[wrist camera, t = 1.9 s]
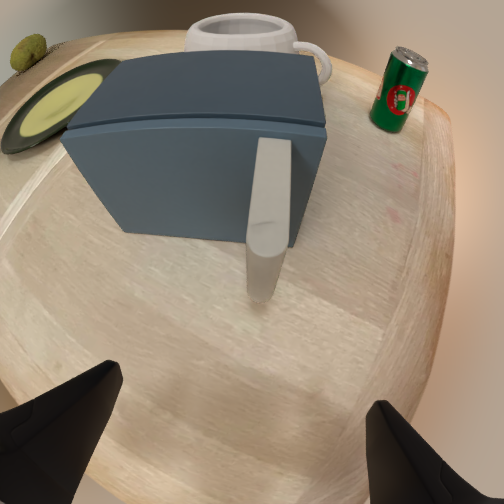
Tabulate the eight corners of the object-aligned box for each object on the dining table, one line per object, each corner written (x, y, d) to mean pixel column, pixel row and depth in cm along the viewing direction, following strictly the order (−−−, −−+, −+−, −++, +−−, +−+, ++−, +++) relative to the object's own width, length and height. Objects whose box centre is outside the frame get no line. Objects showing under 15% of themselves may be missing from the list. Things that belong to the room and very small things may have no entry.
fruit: (30, 71, 51) (4, 55, 38) (25, 81, 58) (2, 67, 45) (57, 38, 52) (32, 22, 39) (48, 51, 59) (26, 36, 46)
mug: (164, 95, 33) (152, 38, 24) (222, 53, 39) (219, 8, 30) (307, 132, 30) (322, 60, 20) (337, 80, 36) (348, 29, 27)
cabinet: (293, 237, 24) (326, 122, 12) (127, 223, 24) (65, 126, 13) (294, 162, 27) (313, 56, 16) (153, 155, 28) (122, 60, 16)
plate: (145, 56, 41) (142, 46, 39) (92, 142, 29) (86, 129, 27) (45, 87, 41) (42, 80, 38) (-14, 174, 29) (-20, 167, 27)
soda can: (378, 108, 33) (402, 44, 22) (405, 128, 31) (435, 64, 20) (362, 117, 32) (386, 45, 21) (391, 139, 30) (424, 67, 19)
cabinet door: (289, 321, 20) (337, 258, 9) (106, 296, 21) (11, 228, 10) (293, 239, 23) (326, 127, 12) (126, 224, 24) (65, 130, 13)
